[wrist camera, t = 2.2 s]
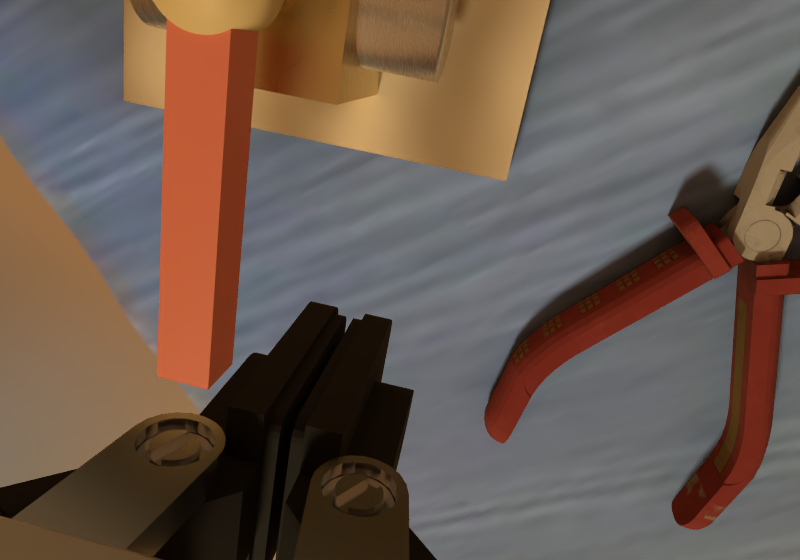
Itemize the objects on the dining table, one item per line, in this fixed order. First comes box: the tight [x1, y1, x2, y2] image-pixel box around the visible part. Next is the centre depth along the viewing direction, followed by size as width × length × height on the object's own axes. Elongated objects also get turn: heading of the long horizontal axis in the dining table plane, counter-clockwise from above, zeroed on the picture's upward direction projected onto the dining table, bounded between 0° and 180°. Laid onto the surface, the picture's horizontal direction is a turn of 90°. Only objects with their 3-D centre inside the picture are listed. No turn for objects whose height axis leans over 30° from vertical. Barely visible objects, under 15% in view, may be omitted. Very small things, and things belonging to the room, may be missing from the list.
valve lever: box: [153, 0, 284, 390], centre depth 16 cm, size 12×3×2 cm, turn 170°
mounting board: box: [124, 0, 550, 181], centre depth 23 cm, size 16×10×2 cm, turn 80°
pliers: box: [484, 85, 800, 530], centre depth 24 cm, size 12×20×3 cm, turn 158°
